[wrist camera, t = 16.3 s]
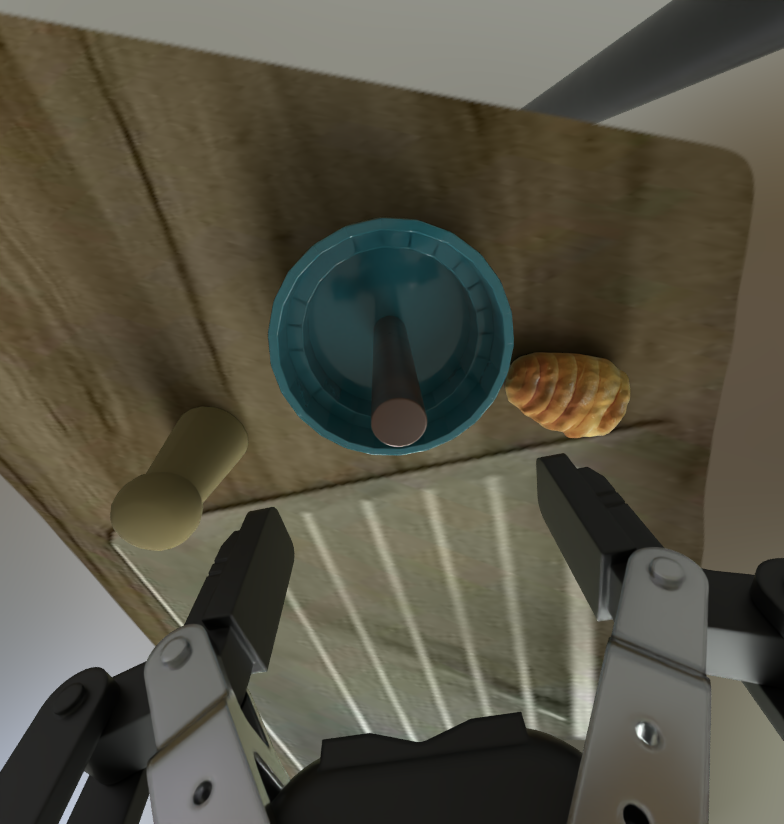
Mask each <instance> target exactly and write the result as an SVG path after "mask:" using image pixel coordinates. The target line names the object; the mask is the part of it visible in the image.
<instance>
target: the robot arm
mask: <svg viewBox="0 0 784 824" xmlns="http://www.w3.org/2000/svg"><path fill="white" fill-rule="evenodd" d="M536 469H537V492H538V503H539V507H540V511H541V514H542V516H543V518H544V520H545V522H546V524H547V526H548V528H549V530H550V532H551V534H552V536H553V537H554V539H555V541H556V543H557V545H558V547H559V549H560V551H561V553H562V554H563V556H564V558H565V560H566V562H567V564H568V566H569V568H570V569H571V571H572V573H573V575H574V577H575V579H576V581H577V583H578V585H579V586H580V588H581V590H582V592H583V594H584V596H585V598H586V600H587V602H588V603H589V605H590V607H591V609H592V611H593V613H594V615H595V617H596V618H597V620H598V621H603V620H609V619H613V620H614V626H613V631H612V635H611V637H609V640H608V643H607V647H606V651H605V655H604V660H603V664H602V669H601V673H600V678H599V682H598V687H597V691H596V696H595V700H594V704H593V709H592V713H591V718H590V722H589V727H588V731H587V736H586V740H585V745H584V750H583V753H581V752H580V751H579V750H577V749H576V748H574V747H573V746H571V745H569V744H568V743H566V742H564V741H563V740H560V739H558V738H556V737H554V736H552V735H550V734H547V733H544V732H541V731H538V730H533V729H528V728H526V727H525V723H524V720H523V716H522V713H521V712H516V713H509V714H502V715H495V716H487V717H480V718H473V719H470V720H468V721H465V722H463V723H461V724H459V725H457V726H455V727H453V728H451V729H449V730H447V731H445V732H443V733H441V734H439V735H437V736H434V737H432V738H430V739H428V740H426V741H423V742H414V741H409V740H403V739H398V738H393V737H388V736H382V735H377V734H372V733H367V734H360V735H353V736H346V737H338V738H331V739H324V740H322V748H321V757H320V759H318V760H316V761H314V762H313V763H311V764H310V765H308V766H307V767H305V768H304V769H303V770H301V771H300V772H299V773H298V774H297V775H295V776H294V777H293V778H292V779H291V780H290V778H289V776H288V774H287V772H286V771H285V769H284V767H283V766H282V764H281V762H280V760H279V758H278V756H277V754H276V752H275V749H274V747H273V745H272V742H271V740H270V738H269V735H268V733H267V731H266V728H265V726H264V724H263V721H262V719H261V716H260V714H259V712H258V709H257V707H256V705H255V702H254V700H253V698H252V695H251V693H250V691H249V689H248V688H247V686H248V683H249V679H250V675H251V674H253V673H259V672H266V671H267V670H268V666H269V662H270V658H271V653H272V649H273V645H274V641H275V637H276V633H277V629H278V625H279V621H280V617H281V612H282V608H283V604H284V600H285V596H286V592H287V588H288V584H289V580H290V575H291V571H292V567H293V563H294V547H293V543H292V540H291V538H290V536H289V534H288V532H287V530H286V527H285V525H284V523H283V521H282V519H281V517H280V515H279V512H278V510H277V509H276V508H275V507H270V508H265V509H260V510H254V511H250V512H248V514H247V515H246V517H245V520H244V522H243V524H242V527H241V529H240V530H238V531H234V532H233V533H232V534H231V535H230V537H229V538H228V539H227V540H226V541H225V542H224V543H223V545H222V546H221V548H220V550H219V552H218V554H217V556H216V558H215V564H213V565H212V567H211V569H210V571H209V576H208V577H207V578H206V580H205V582H204V584H203V586H202V588H201V590H200V593H199V595H198V597H197V599H196V601H195V603H194V605H193V607H192V610H191V612H190V614H189V616H188V618H187V620H186V622H185V624H184V626H182V627H180V628H177V629H176V630H174V631H172V632H171V633H169V634H168V635H167V636H166V637H164V638H163V639H162V640H161V641H160V642H159V643H158V644H157V645H156V647H155V648H154V649H153V651H152V652H151V654H150V655H149V658H148V659H147V661H146V662H144V663H142V664H139V665H137V666H135V667H133V668H131V669H129V670H127V671H124V672H122V673H120V674H118V675H116V676H114V677H111V676H110V675H109V674H108V673H107V672H106V671H105V670H104V669H102V668H100V667H93V668H89V669H85V670H83V671H81V672H79V673H77V674H75V675H74V676H72V677H71V678H69V679H68V680H67V681H65V682H64V683H63V684H62V685H60V686H59V687H58V688H57V689H56V690H55V691H54V692H53V693H52V694H51V695H50V697H49V698H48V699H47V700H46V701H45V703H44V704H43V706H42V707H41V709H40V710H39V712H38V713H37V715H36V717H35V718H34V720H33V722H32V723H31V725H30V726H29V728H28V729H27V731H26V732H25V734H24V735H23V737H22V739H21V740H20V742H19V743H18V745H17V747H16V748H15V750H14V751H13V753H12V754H11V756H10V758H9V759H8V761H7V762H6V764H5V765H4V767H3V769H2V770H1V772H0V824H59V821H60V819H61V817H62V815H63V813H64V811H65V809H66V807H67V805H68V802H69V801H70V799H71V796H72V795H73V792H74V790H75V788H76V786H77V784H78V782H79V780H80V778H81V776H82V774H83V772H84V771H85V772H86V773H88V774H89V777H88V779H87V781H86V783H85V786H84V788H83V790H82V792H81V794H80V796H79V798H78V801H77V802H76V805H75V807H74V809H73V811H72V813H71V815H70V817H69V819H68V822H67V824H139V822H140V819H141V816H142V813H143V810H144V807H145V805H146V802H147V799H148V796H149V794H150V800H151V808H152V815H153V821H154V824H708V821H709V819H708V818H709V773H710V771H709V770H710V726H711V684H710V679H709V678H708V677H707V676H706V674H707V675H712V676H718V677H723V678H729V679H734V680H740V681H742V682H743V684H744V685H745V687H746V688H747V690H748V691H749V693H750V694H751V695H752V697H753V698H754V700H755V701H756V702H757V704H758V705H759V707H760V708H761V710H762V711H763V712H764V714H765V715H766V717H767V718H768V720H769V721H770V722H771V724H772V725H773V727H774V728H775V729H776V731H777V732H778V734H779V735H780V736H781V738H782V739H783V741H784V558H776V559H770V560H767V561H764V562H762V563H761V564H760V565H759V566H758V568H757V570H756V573H755V575H750V574H740V573H731V572H721V571H712V570H707V569H702V568H700V567H699V566H698V565H697V564H696V563H695V562H694V561H692V560H691V559H689V558H688V557H686V556H684V555H683V554H680V553H678V552H676V551H673V550H670V549H666V548H664V547H663V546H662V545H661V544H660V542H659V541H658V540H657V539H656V538H655V536H654V535H653V534H652V533H651V532H650V531H649V529H648V528H647V527H646V526H645V525H644V523H643V522H642V521H641V520H640V519H639V517H638V516H637V515H636V514H635V513H634V511H633V510H632V509H631V508H630V507H629V506H628V504H625V501H624V500H623V498H622V497H621V496H620V495H619V494H618V493H616V491H615V489H614V488H613V487H612V485H611V484H610V483H609V482H608V481H607V479H606V478H605V477H604V476H602V475H600V474H599V473H597V472H595V471H594V470H592V469H590V468H588V467H584V468H579V469H577V468H576V467H575V466H574V464H573V463H572V462H571V461H570V459H569V458H568V457H567V455H566V454H564V453H561V454H556V455H551V456H546V457H540V458H537V461H536Z"/></svg>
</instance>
